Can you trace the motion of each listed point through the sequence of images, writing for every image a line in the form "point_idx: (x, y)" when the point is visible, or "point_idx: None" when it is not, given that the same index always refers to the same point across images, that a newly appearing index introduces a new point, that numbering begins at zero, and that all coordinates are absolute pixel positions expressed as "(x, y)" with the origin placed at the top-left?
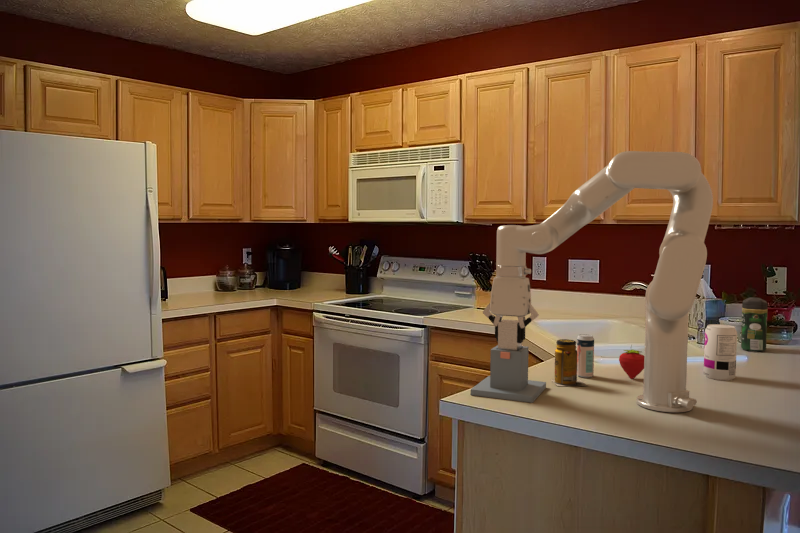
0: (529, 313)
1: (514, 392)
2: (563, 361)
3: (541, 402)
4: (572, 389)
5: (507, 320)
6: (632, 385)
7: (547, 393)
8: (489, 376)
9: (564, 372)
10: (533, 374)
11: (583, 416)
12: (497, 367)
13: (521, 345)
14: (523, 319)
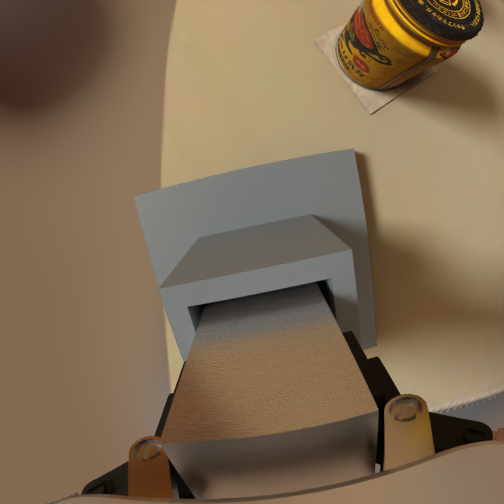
0: (495, 449)
1: None
2: (417, 69)
3: (390, 318)
4: (419, 126)
5: (235, 473)
6: (493, 21)
7: (378, 219)
8: (141, 205)
9: (401, 79)
10: (226, 10)
11: (477, 346)
12: None
13: (323, 298)
14: (413, 458)
